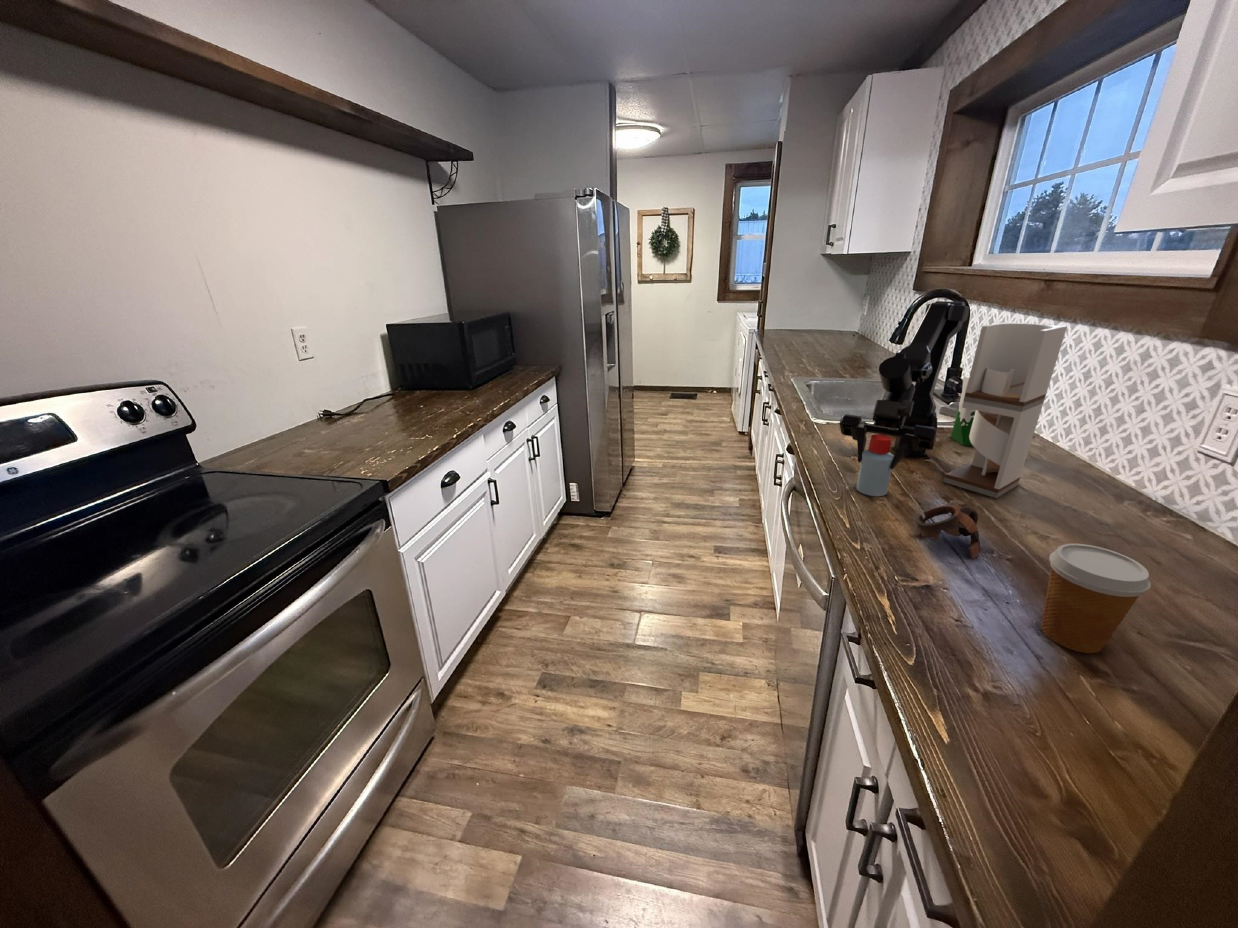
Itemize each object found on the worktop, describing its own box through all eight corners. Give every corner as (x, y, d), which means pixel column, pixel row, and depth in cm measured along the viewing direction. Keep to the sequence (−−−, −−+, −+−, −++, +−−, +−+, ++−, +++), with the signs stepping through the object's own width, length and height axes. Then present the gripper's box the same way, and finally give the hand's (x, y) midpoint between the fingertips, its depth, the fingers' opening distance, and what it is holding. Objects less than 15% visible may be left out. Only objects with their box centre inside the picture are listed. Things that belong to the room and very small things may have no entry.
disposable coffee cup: (1008, 616, 71) (1033, 543, 66) (1070, 611, 71) (1099, 539, 67) (1070, 665, 62) (1103, 586, 57) (1140, 659, 63) (1178, 580, 58)
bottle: (881, 484, 113) (891, 435, 108) (891, 496, 107) (901, 445, 103) (853, 483, 114) (861, 434, 109) (860, 495, 108) (869, 444, 104)
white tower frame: (966, 470, 120) (1005, 322, 107) (1017, 485, 112) (1067, 326, 99) (943, 481, 114) (982, 326, 101) (996, 498, 106) (1045, 330, 93)
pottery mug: (971, 569, 82) (951, 526, 82) (917, 565, 91) (898, 527, 90) (1004, 532, 87) (986, 492, 87) (950, 532, 96) (933, 495, 95)
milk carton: (961, 446, 135) (980, 374, 128) (944, 436, 144) (961, 367, 136) (995, 447, 135) (1016, 374, 127) (976, 436, 143) (995, 367, 135)
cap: (885, 447, 108) (888, 434, 107) (891, 454, 105) (894, 440, 103) (866, 447, 109) (868, 434, 108) (871, 453, 105) (874, 440, 104)
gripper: (848, 379, 110) (825, 439, 106) (945, 390, 99) (924, 457, 95) (852, 405, 118) (832, 462, 115) (943, 417, 108) (923, 480, 104)
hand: (874, 465), depth 107 cm, fingers closed on bottle, 6 cm apart
